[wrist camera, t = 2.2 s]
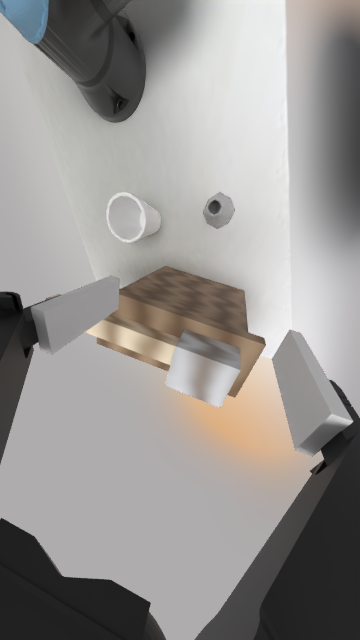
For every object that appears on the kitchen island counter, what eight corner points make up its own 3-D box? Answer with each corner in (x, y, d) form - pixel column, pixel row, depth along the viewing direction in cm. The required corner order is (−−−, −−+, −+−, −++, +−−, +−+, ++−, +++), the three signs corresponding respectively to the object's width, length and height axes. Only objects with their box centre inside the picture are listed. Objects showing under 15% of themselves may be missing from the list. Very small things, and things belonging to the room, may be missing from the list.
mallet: (61, 321, 36) (37, 334, 32) (57, 283, 32) (29, 292, 28) (222, 383, 32) (220, 407, 28) (240, 348, 28) (240, 370, 24)
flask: (217, 234, 47) (212, 235, 39) (198, 212, 46) (189, 208, 38) (240, 210, 44) (241, 205, 35) (220, 185, 43) (215, 175, 34)
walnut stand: (153, 297, 60) (96, 343, 36) (159, 261, 55) (96, 286, 30) (236, 325, 57) (235, 397, 33) (252, 289, 51) (265, 345, 27)
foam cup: (135, 237, 54) (108, 239, 42) (134, 199, 49) (103, 191, 38) (166, 240, 52) (146, 244, 40) (167, 202, 47) (145, 193, 36)
